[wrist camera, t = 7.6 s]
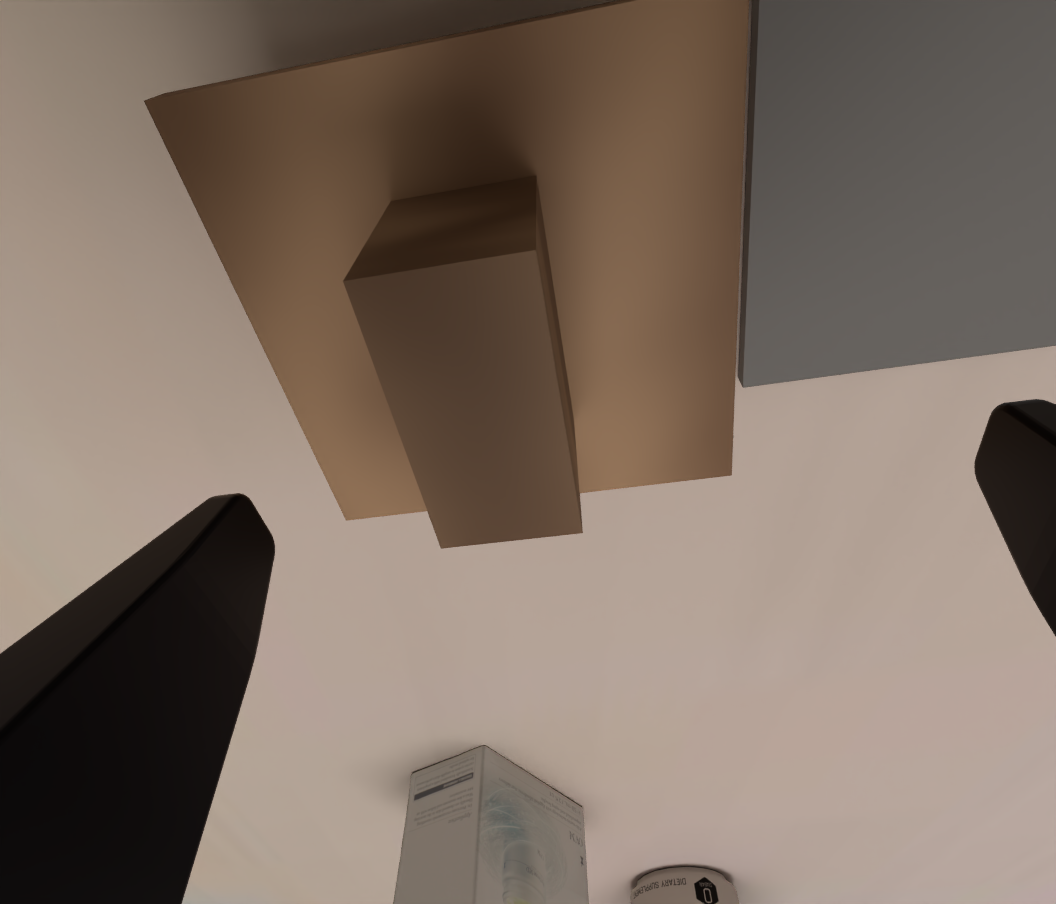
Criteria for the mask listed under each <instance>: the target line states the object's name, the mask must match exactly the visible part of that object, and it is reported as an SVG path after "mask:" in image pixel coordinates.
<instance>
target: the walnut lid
mask: <svg viewBox="0 0 1056 904" xmlns="http://www.w3.org/2000/svg"><path fill="white" fill-rule="evenodd" d="M748 14H749V0H618V1H613V2H608V3H603V4H598V5H594V6H589V7H584V8H579V9H574V10H569V11H564V12H559V13H554V14H550V15H545V16H540V17H535V18H530V19H525V20H520V21H515V22H510V23H506V24H501V25H496V26H491V27H486V28H481V29H476V30H471V31H466V32H462V33H457V34H452V35H447V36H442V37H437V38H432V39H427V40H422V41H418V42H413V43H408V44H403V45H398V46H393V47H388V48H383V49H379V50H374V51H369V52H364V53H359V54H354V55H349V56H344V57H339V58H335V59H330V60H325V61H320V62H315V63H310V64H305V65H300V66H295V67H291V68H286V69H281V70H276V71H271V72H266V73H261V74H256V75H251V76H247V77H242V78H237V79H232V80H227V81H222V82H217V83H212V84H207V85H203V86H198V87H193V88H188V89H183V90H178V91H173V92H168V93H164V94H161V95H158V96H156V97H153V98H150V99H148V100H145V101H144V102H145V104H146V106H147V108H148V110H149V112H150V114H151V116H152V119H153V121H154V123H155V125H156V127H157V129H158V131H159V133H160V135H161V137H162V139H163V141H164V143H165V146H166V148H167V150H168V152H169V154H170V156H171V158H172V160H173V162H174V164H175V166H176V168H177V170H178V173H179V175H180V177H181V179H182V181H183V183H184V185H185V187H186V189H187V191H188V193H189V195H190V197H191V199H192V202H193V204H194V206H195V208H196V210H197V212H198V214H199V216H200V218H201V220H202V222H203V224H204V226H205V229H206V231H207V233H208V235H209V237H210V239H211V241H212V243H213V245H214V247H215V249H216V251H217V253H218V256H219V258H220V260H221V262H222V264H223V266H224V268H225V270H226V272H227V274H228V276H229V278H230V280H231V283H232V285H233V287H234V289H235V291H236V293H237V295H238V297H239V299H240V301H241V303H242V305H243V307H244V309H245V312H246V314H247V316H248V318H249V320H250V322H251V324H252V326H253V328H254V330H255V332H256V334H257V336H258V339H259V341H260V343H261V345H262V347H263V349H264V351H265V353H266V355H267V357H268V359H269V361H270V363H271V366H272V368H273V370H274V372H275V374H276V376H277V378H278V380H279V382H280V384H281V386H282V388H283V390H284V392H285V395H286V397H287V399H288V401H289V403H290V405H291V407H292V409H293V411H294V413H295V415H296V417H297V419H298V422H299V424H300V426H301V428H302V430H303V432H304V434H305V436H306V438H307V440H308V442H309V444H310V446H311V449H312V451H313V453H314V455H315V457H316V459H317V461H318V463H319V465H320V467H321V469H322V471H323V473H324V475H325V478H326V480H327V482H328V484H329V486H330V488H331V490H332V492H333V494H334V496H335V498H336V500H337V502H338V505H339V507H340V509H341V511H342V513H343V515H344V517H345V519H346V520H354V519H363V518H371V517H380V516H388V515H397V514H406V513H414V512H423V511H428V514H429V517H430V520H431V522H432V525H433V528H434V530H435V533H436V536H437V539H438V541H439V544H440V547H441V548H450V547H459V546H468V545H477V544H486V543H496V542H505V541H514V540H523V539H532V538H541V537H550V536H559V535H568V534H577V533H583V531H582V518H581V505H580V493H585V492H593V491H602V490H610V489H619V488H627V487H636V486H645V485H653V484H662V483H670V482H679V481H687V480H696V479H704V478H713V477H721V476H730V475H732V450H733V423H734V396H735V369H736V341H737V314H738V287H739V259H740V232H741V205H742V178H743V150H744V123H745V96H746V69H747V41H748Z"/></svg>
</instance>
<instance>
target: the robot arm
mask: <svg viewBox="0 0 1056 904" xmlns="http://www.w3.org/2000/svg"><path fill="white" fill-rule="evenodd" d="M974 468H975V475H976V479H977V482H978V484H979V486H980V488H981V491H982V493H983V495H984V497H985V499H986V501H987V503H988V506H989V508H990V510H991V512H992V514H993V516H994V519H995V521H996V523H997V525H998V527H999V529H1000V531H1001V534H1002V536H1003V538H1004V540H1005V542H1006V544H1007V547H1008V549H1009V551H1010V553H1011V555H1012V557H1013V559H1014V562H1015V564H1016V566H1017V568H1018V570H1019V572H1020V575H1021V577H1022V579H1023V581H1024V583H1025V585H1026V586H1027V588H1028V590H1029V592H1030V594H1031V596H1032V598H1033V600H1034V601H1035V603H1036V605H1037V606H1038V608H1039V610H1040V612H1041V613H1042V615H1043V617H1044V618H1045V620H1046V622H1047V623H1048V625H1049V626H1050V628H1051V630H1052V631H1053V633H1054V635H1055V636H1056V404H1053V403H1051V402H1048V401H1045V400H1039V399H1034V400H1025V401H1017V402H1008V403H1003V404H1001V405H998V406H997V407H996V408H995V409H994V410H993V411H992V413H991V415H990V418H989V420H988V423H987V426H986V429H985V432H984V435H983V438H982V441H981V444H980V447H979V450H978V452H977V455H976V459H975V467H974ZM274 556H275V544H274V540H273V537H272V535H271V533H270V531H269V529H268V528H267V526H266V525H265V523H264V521H263V520H262V518H261V516H260V515H259V513H258V511H257V510H256V508H255V506H254V505H253V503H252V501H251V500H250V499H249V498H248V497H247V496H246V495H244V494H240V493H236V494H228V495H219V496H214V497H211V498H209V499H207V500H206V501H205V502H203V503H202V504H201V505H199V506H198V507H197V508H195V509H194V510H193V511H191V512H190V513H189V514H187V515H186V516H185V517H183V518H182V519H181V520H179V521H178V522H176V523H175V524H174V525H172V526H171V527H170V528H168V529H167V530H166V531H164V532H163V533H162V534H160V535H159V536H158V537H156V538H155V539H154V540H152V541H151V542H150V543H148V544H147V545H146V546H144V547H143V548H142V549H140V550H139V551H138V552H136V553H135V554H134V555H132V556H131V557H130V558H128V559H127V560H125V561H124V562H123V563H121V564H120V565H119V566H117V567H116V568H115V569H113V570H112V571H111V572H109V573H108V574H107V575H105V576H104V577H103V578H101V579H100V580H99V581H97V582H96V583H95V584H93V585H92V586H91V587H89V588H88V589H87V590H85V591H84V592H83V593H81V594H80V595H78V596H77V597H76V598H74V599H73V600H72V601H70V602H69V603H68V604H66V605H65V606H64V607H62V608H61V609H60V610H58V611H57V612H56V613H54V614H53V615H52V616H50V617H49V618H48V619H46V620H45V621H44V622H42V623H41V624H40V625H38V626H37V627H36V628H34V629H33V630H31V631H30V632H29V633H27V634H26V635H25V636H23V637H22V638H21V639H19V640H18V641H17V642H15V643H14V644H13V645H11V646H10V647H9V648H7V649H6V650H5V651H3V652H2V653H1V654H0V904H182V901H183V897H184V894H185V891H186V887H187V884H188V881H189V877H190V874H191V871H192V867H193V864H194V861H195V857H196V854H197V851H198V847H199V844H200V841H201V837H202V834H203V831H204V827H205V824H206V821H207V817H208V814H209V811H210V807H211V804H212V801H213V797H214V794H215V791H216V787H217V784H218V781H219V778H220V774H221V771H222V768H223V764H224V761H225V758H226V754H227V751H228V748H229V744H230V741H231V738H232V734H233V731H234V728H235V724H236V721H237V718H238V714H239V711H240V708H241V704H242V701H243V698H244V694H245V691H246V688H247V684H248V681H249V678H250V674H251V670H252V667H253V663H254V659H255V655H256V650H257V646H258V641H259V636H260V631H261V625H262V620H263V615H264V609H265V604H266V599H267V593H268V588H269V583H270V577H271V572H272V566H273V561H274Z"/></svg>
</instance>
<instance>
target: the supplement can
mask: <svg viewBox="0 0 1056 904" xmlns="http://www.w3.org/2000/svg"><path fill="white" fill-rule="evenodd" d="M630 898H631V904H739V900H738V895H737V891H736V889H735V887H734V886H733V884H731V883H730V882H728V881H727V880H726V879H725V877H724V876H723V875H722V874H720V873H718V872H716V871H713V870H709V869H704V868H696V867H677V868H667V869H663V870H658V871H654V872H652V873H649V874H647V875H644V876H643V877H642V878H641V879H640V880H638V882H637V886H636V887H635V888H634V889H633V890H632V891H631V897H630Z"/></svg>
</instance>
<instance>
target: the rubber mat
mask: <svg viewBox="0 0 1056 904" xmlns="http://www.w3.org/2000/svg"><path fill="white" fill-rule="evenodd" d="M1049 346H1056V0H752V25H751V52H750V79H749V105H748V132H747V159H746V186H745V213H744V240H743V267H742V294H741V321H740V348H739V375H738V378H739V381H740V383H741V385H742V387H743V388H744V387H751V386H759V385H766V384H774V383H781V382H789V381H796V380H803V379H811V378H818V377H826V376H833V375H841V374H848V373H855V372H863V371H870V370H878V369H885V368H893V367H900V366H908V365H915V364H922V363H930V362H937V361H945V360H952V359H960V358H967V357H974V356H982V355H989V354H997V353H1004V352H1012V351H1019V350H1027V349H1034V348H1041V347H1049Z"/></svg>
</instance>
